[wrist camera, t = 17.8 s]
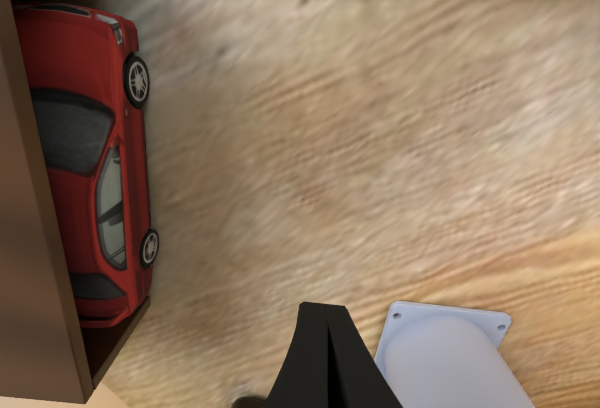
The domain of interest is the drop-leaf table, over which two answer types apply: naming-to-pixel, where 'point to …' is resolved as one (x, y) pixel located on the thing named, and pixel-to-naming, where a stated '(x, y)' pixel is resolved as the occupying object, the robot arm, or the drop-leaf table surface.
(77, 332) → the cabinet
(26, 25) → the toy car
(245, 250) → the drop-leaf table surface
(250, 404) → the wine bottle
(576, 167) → the drop-leaf table surface
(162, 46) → the drop-leaf table surface
